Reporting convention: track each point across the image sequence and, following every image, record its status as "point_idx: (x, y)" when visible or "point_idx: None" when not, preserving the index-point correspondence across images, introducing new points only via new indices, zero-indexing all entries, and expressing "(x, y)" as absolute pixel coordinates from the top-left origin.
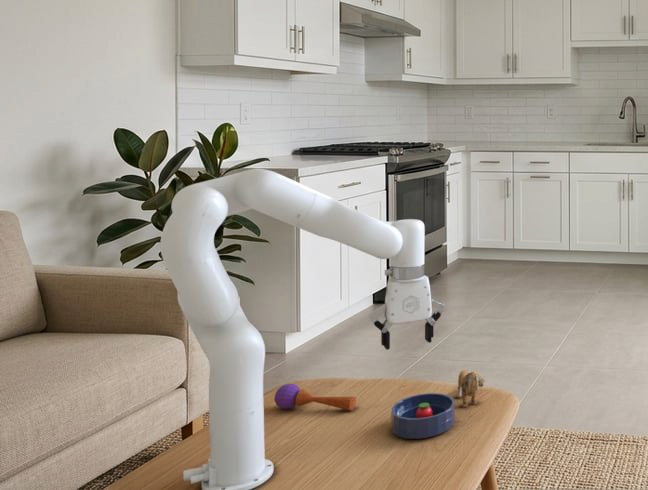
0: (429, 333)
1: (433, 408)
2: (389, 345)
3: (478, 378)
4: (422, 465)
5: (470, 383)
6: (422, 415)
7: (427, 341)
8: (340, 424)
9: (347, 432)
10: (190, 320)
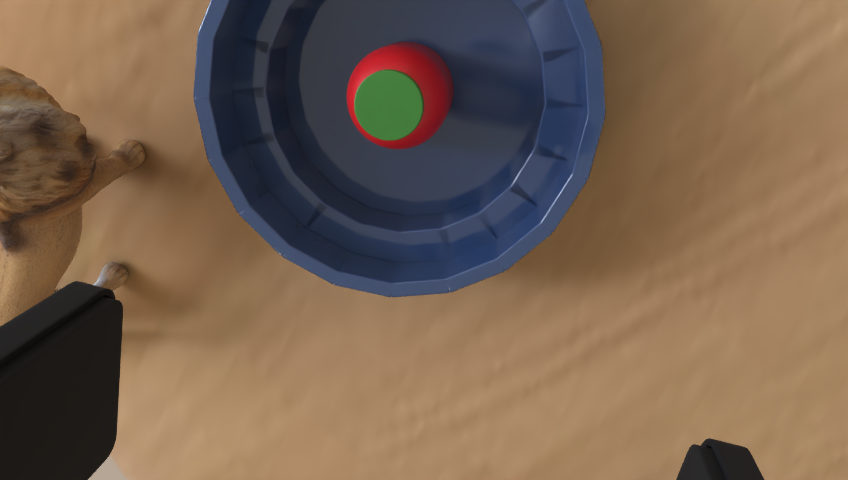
0: (13, 349)
1: (304, 174)
2: (714, 470)
3: None
4: None
5: (20, 99)
6: (427, 59)
7: (120, 335)
8: (707, 425)
9: (732, 322)
10: None
